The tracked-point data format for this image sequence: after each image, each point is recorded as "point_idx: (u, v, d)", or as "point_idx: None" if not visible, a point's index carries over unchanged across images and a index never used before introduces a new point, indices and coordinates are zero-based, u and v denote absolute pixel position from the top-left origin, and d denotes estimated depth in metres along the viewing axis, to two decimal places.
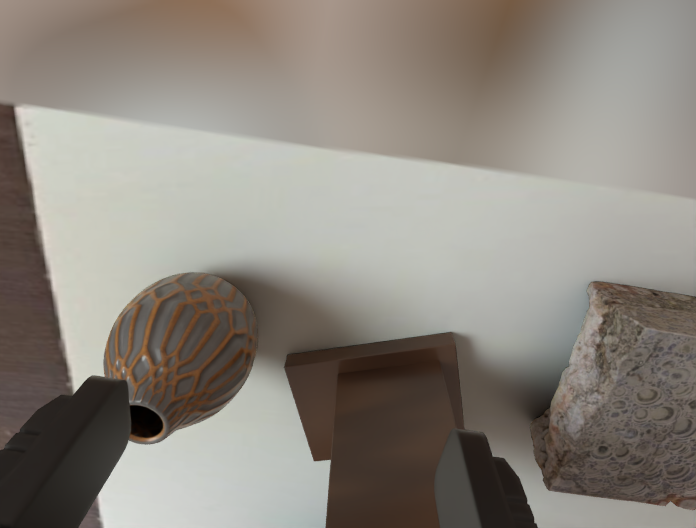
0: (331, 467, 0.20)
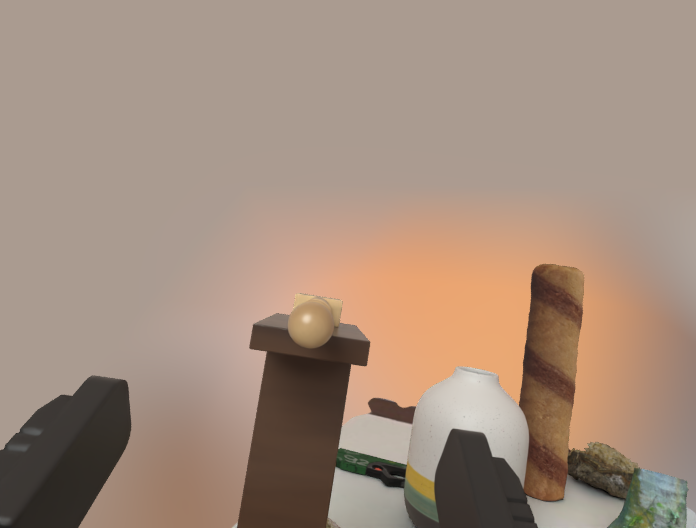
0: None
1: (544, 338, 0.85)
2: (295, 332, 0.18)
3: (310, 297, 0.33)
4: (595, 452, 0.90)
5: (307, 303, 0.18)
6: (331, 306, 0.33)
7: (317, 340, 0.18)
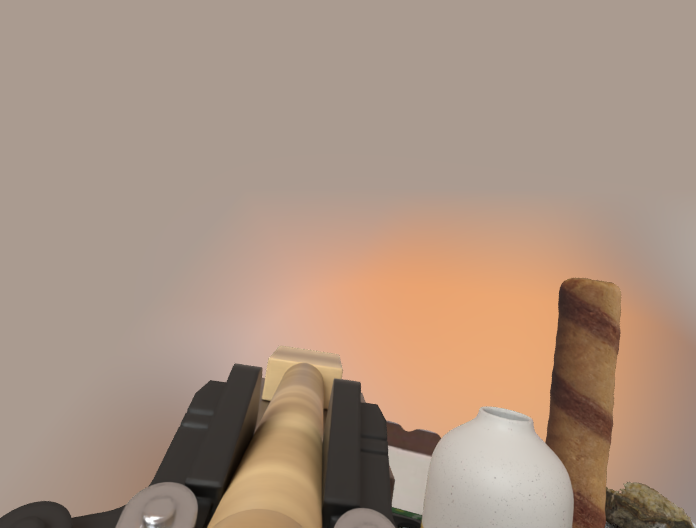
0: None
1: (576, 365, 0.73)
2: None
3: (291, 363, 0.21)
4: (633, 495, 0.78)
5: (243, 524, 0.06)
6: (325, 378, 0.21)
7: None
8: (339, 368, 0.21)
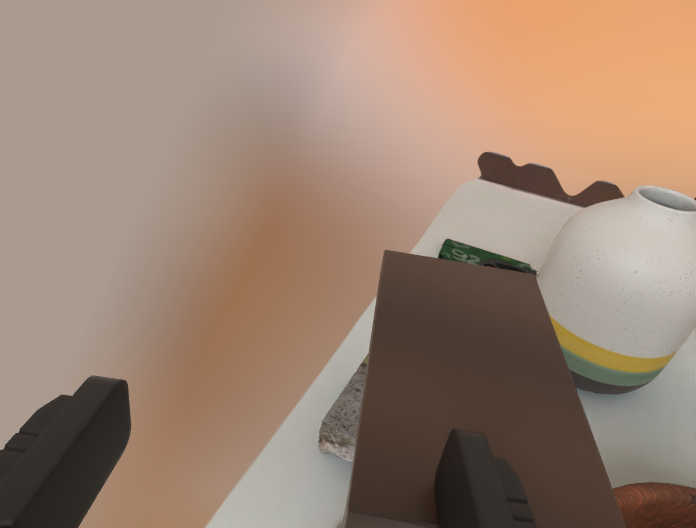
0: None
1: None
2: None
3: None
4: None
5: None
6: None
7: None
8: None
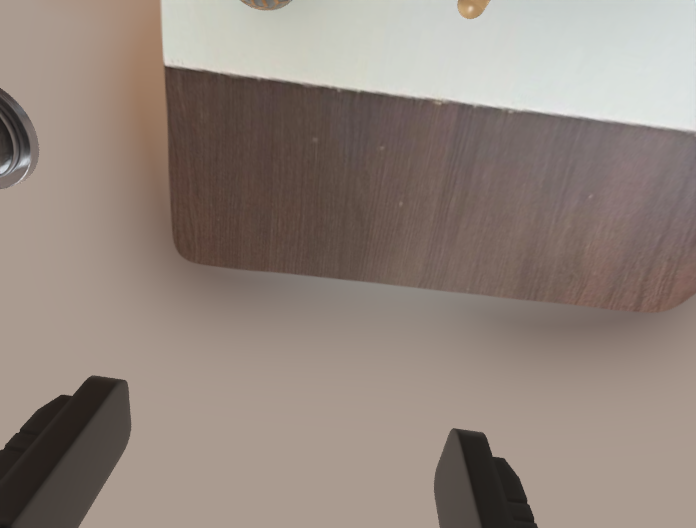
0: None
1: None
2: (463, 10, 0.30)
3: None
4: None
5: (480, 14, 0.31)
6: None
7: None
8: None
